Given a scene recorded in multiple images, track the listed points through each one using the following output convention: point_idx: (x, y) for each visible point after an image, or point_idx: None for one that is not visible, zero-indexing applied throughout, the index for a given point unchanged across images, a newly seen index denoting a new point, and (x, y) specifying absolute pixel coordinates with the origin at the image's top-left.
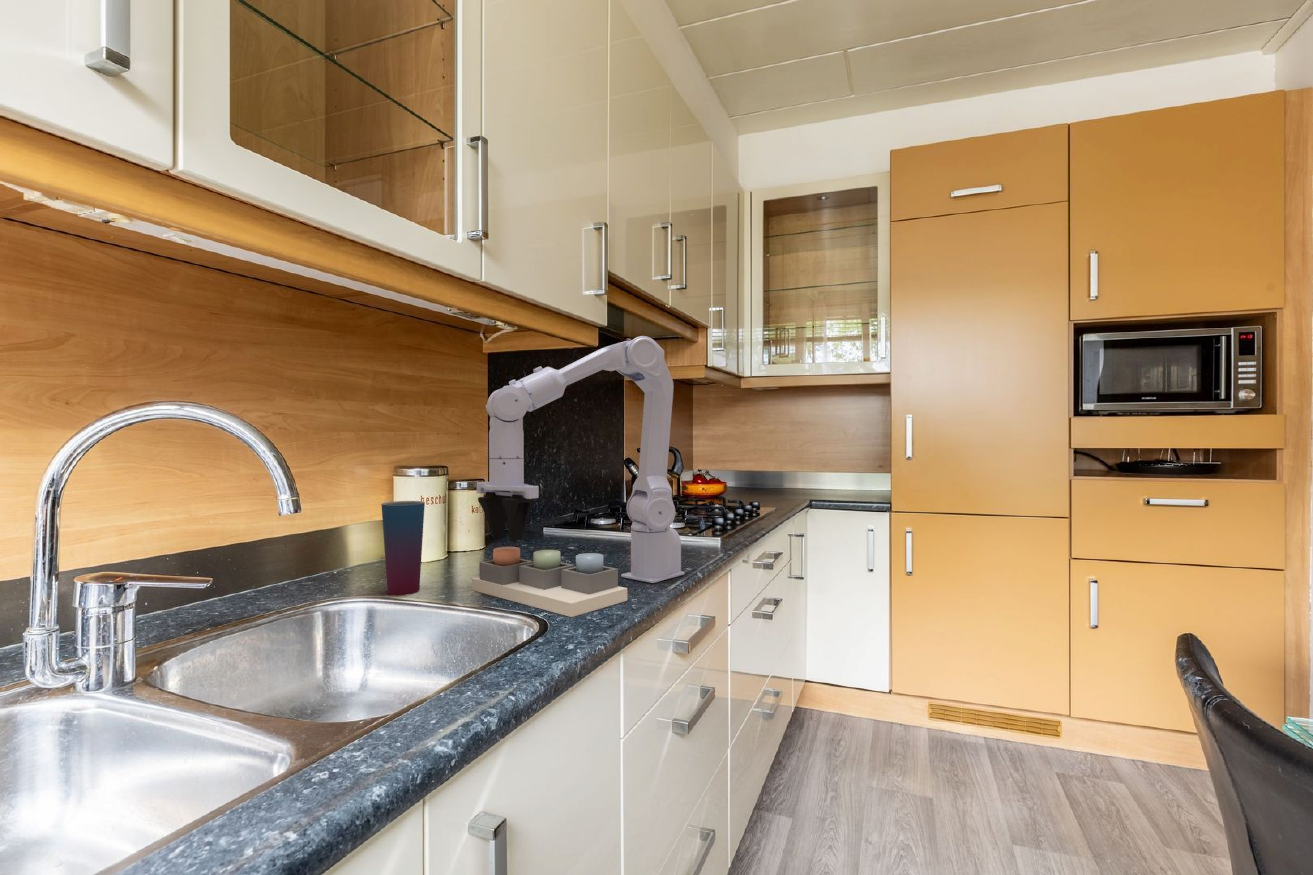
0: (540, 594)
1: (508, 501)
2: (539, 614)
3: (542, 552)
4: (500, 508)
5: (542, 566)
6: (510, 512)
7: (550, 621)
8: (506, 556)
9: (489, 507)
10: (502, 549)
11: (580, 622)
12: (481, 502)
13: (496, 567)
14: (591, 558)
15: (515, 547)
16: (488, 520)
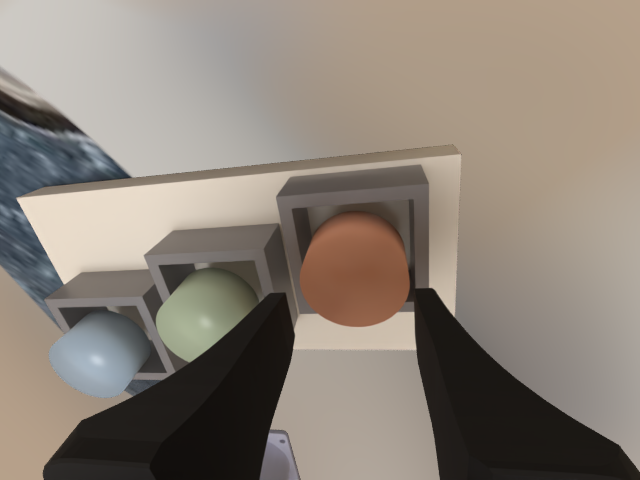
0: (129, 194)
1: (69, 442)
2: (95, 147)
3: (205, 323)
4: (442, 465)
5: (185, 278)
6: (166, 384)
7: (29, 133)
8: (309, 247)
9: (448, 414)
10: (357, 269)
11: (2, 178)
12: (548, 434)
13: (312, 191)
14: (49, 351)
15: (358, 320)
16: (454, 337)
